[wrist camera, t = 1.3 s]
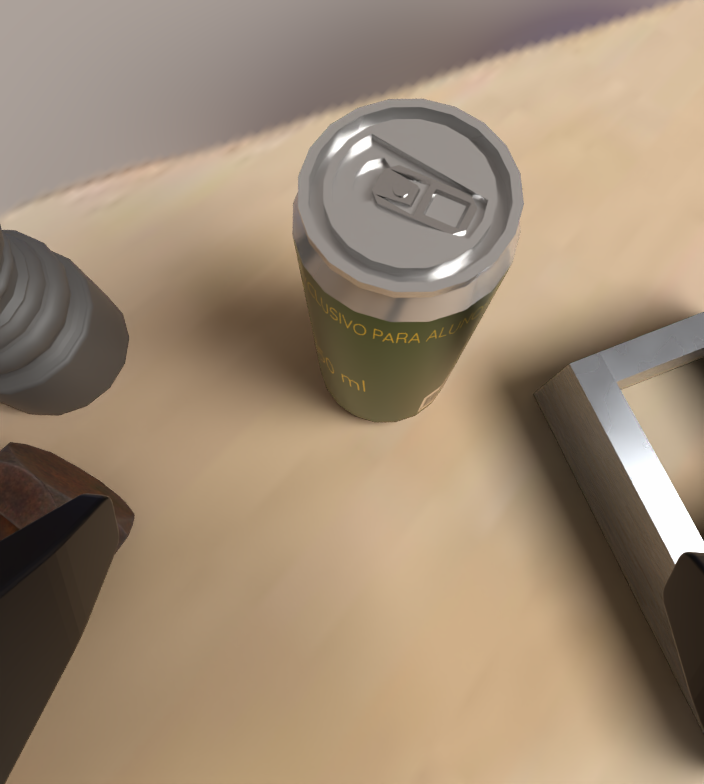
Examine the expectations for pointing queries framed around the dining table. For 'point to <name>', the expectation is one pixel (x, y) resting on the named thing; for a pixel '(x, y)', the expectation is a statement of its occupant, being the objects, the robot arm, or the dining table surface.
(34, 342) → the turned furniture leg
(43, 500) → the bolt
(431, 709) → the dining table surface
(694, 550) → the jig
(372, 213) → the beer can
